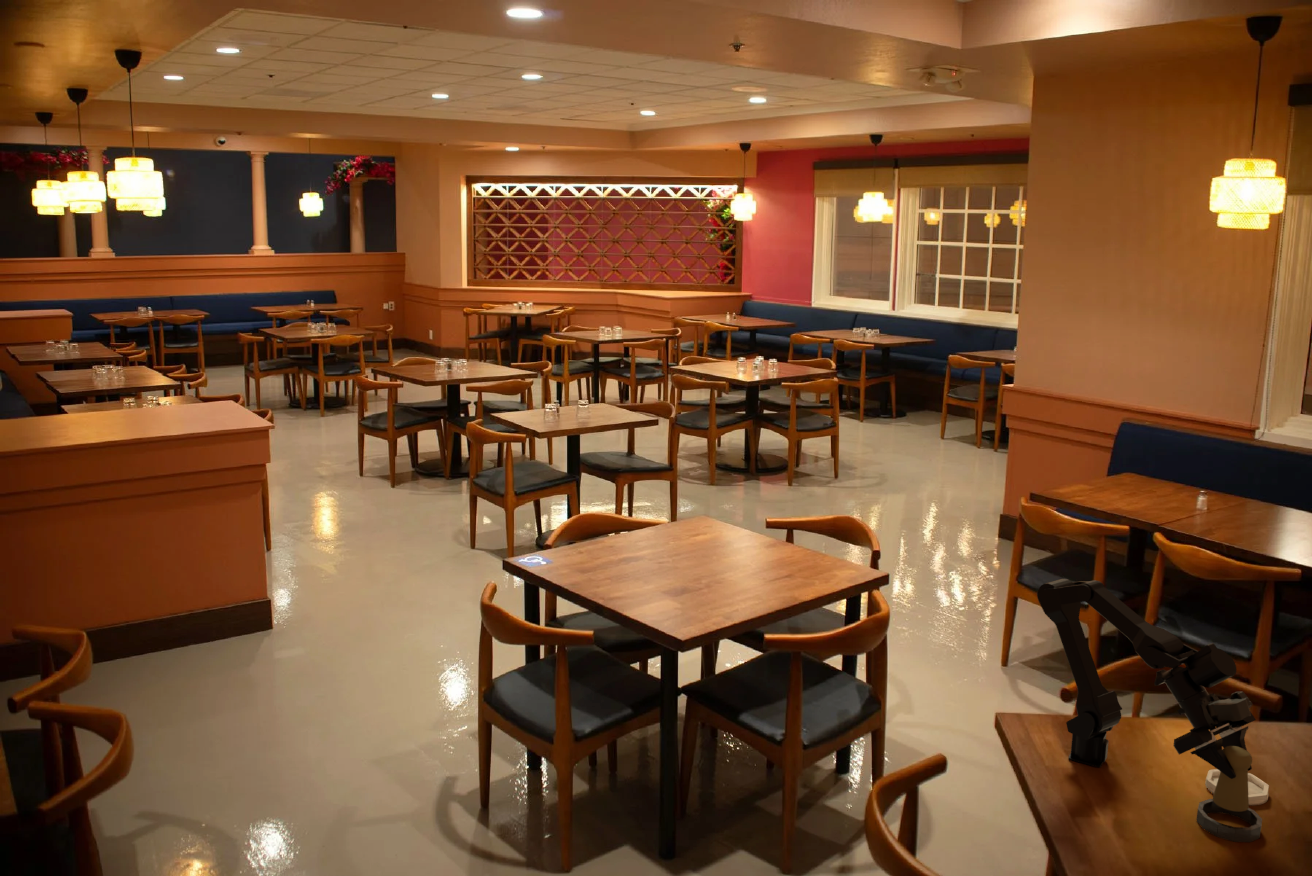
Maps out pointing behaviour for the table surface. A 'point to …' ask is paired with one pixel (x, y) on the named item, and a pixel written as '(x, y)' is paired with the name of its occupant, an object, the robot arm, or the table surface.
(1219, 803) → the cork
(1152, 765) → the table surface
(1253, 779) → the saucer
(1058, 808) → the table surface
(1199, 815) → the dark grey ring
